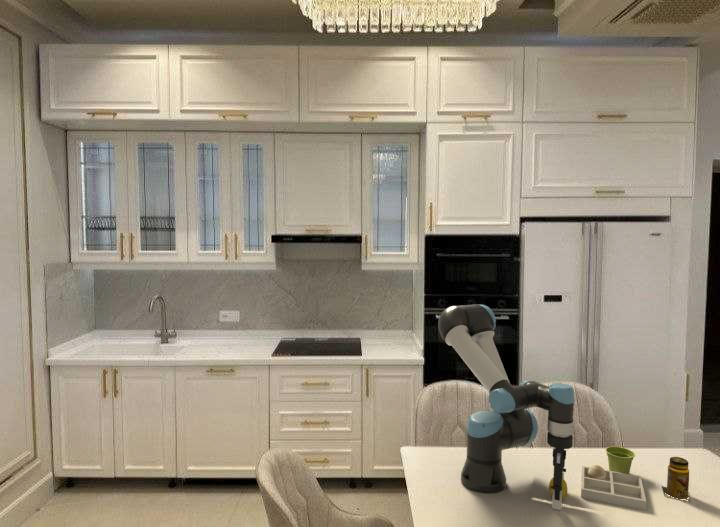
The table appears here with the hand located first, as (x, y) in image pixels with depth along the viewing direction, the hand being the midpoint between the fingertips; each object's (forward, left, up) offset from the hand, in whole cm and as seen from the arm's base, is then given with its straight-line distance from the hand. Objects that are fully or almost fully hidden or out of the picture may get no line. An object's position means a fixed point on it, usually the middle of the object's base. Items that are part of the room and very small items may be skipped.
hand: (557, 499), depth 166 cm
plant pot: (+19, +28, 0) cm, 34 cm away
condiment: (+35, +21, 0) cm, 41 cm away
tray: (+16, +13, 0) cm, 21 cm away
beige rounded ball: (+12, +17, +1) cm, 21 cm away
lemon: (0, 0, 0) cm, 0 cm away
